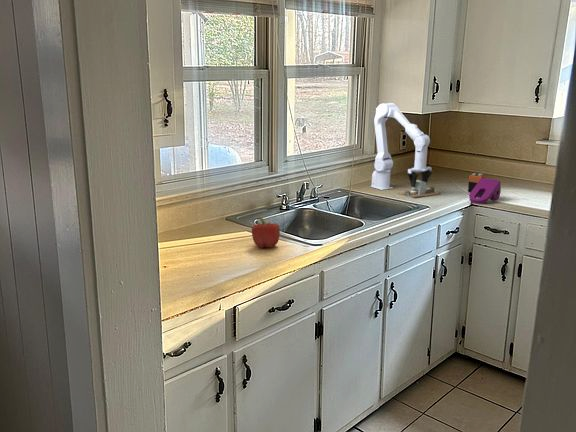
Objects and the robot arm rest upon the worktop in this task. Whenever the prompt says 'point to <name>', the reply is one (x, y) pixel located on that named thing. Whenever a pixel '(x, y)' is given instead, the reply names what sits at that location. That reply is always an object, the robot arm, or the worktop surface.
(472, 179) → the battery
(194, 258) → the worktop surface
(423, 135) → the robot arm
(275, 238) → the vegetable
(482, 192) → the mounting bracket
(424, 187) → the block
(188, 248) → the worktop surface
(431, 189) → the rail mount
